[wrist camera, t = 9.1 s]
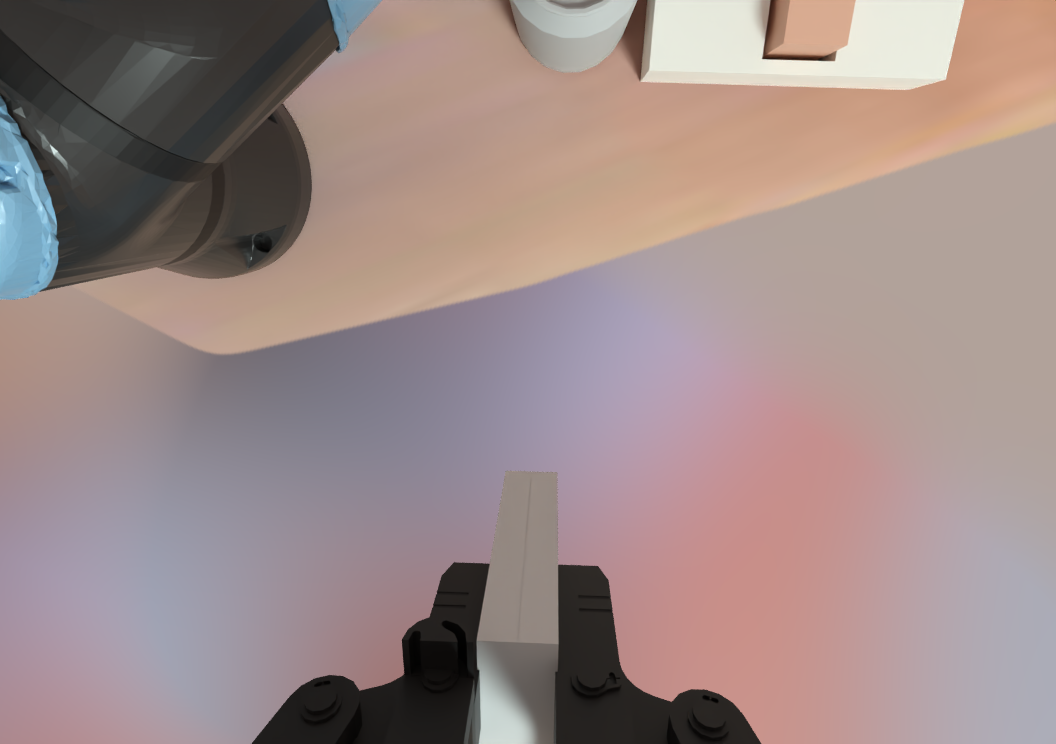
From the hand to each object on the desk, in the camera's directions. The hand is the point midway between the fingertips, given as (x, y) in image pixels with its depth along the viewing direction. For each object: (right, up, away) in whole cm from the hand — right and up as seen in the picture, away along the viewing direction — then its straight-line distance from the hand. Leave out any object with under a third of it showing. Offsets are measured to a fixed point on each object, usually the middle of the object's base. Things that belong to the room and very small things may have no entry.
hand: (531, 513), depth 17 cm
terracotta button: (+17, +26, +20) cm, 37 cm away
